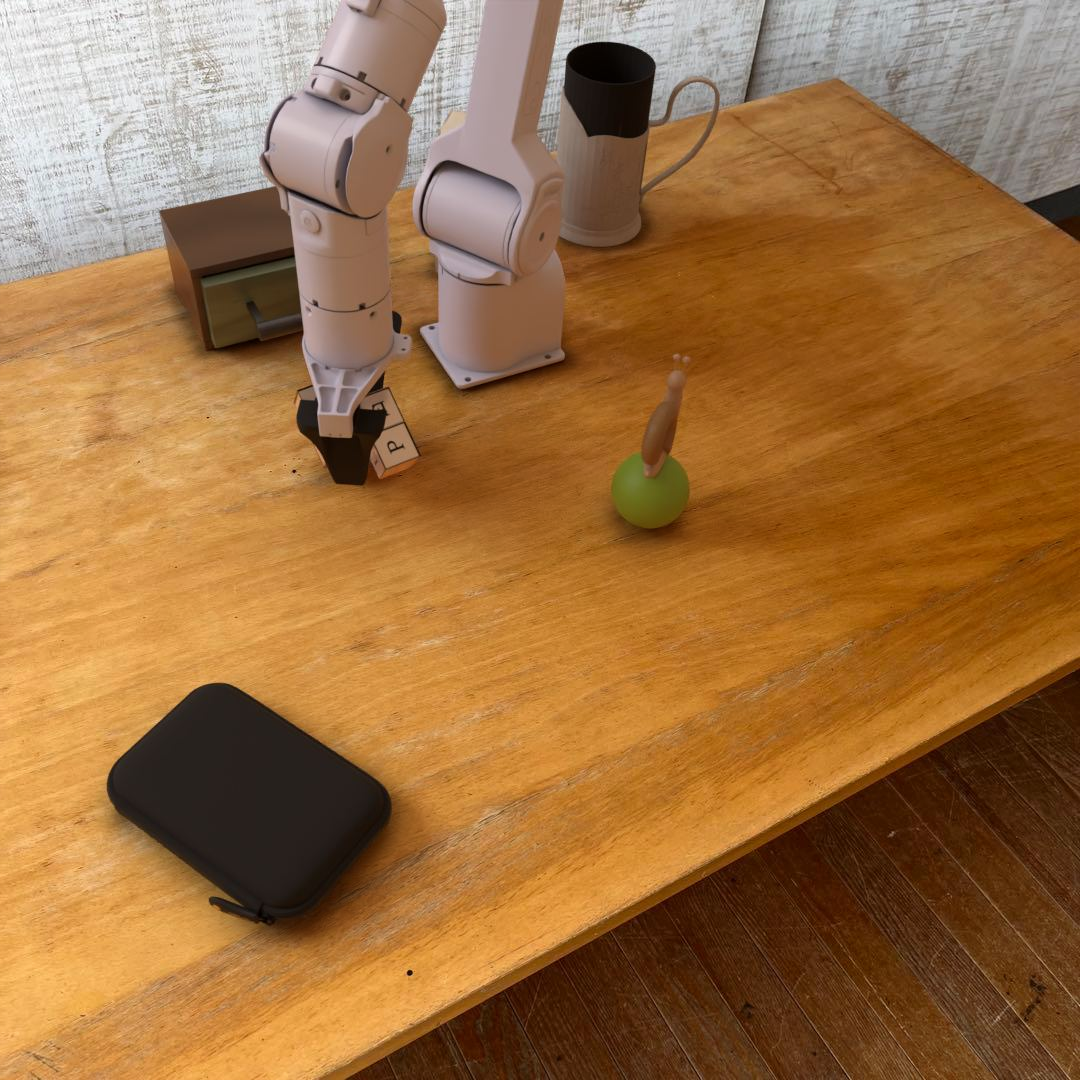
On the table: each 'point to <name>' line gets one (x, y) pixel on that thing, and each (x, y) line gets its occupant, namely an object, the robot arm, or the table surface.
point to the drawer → (253, 302)
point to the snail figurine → (655, 466)
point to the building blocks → (395, 440)
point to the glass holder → (610, 140)
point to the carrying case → (249, 803)
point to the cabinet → (222, 243)
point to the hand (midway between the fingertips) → (357, 442)
